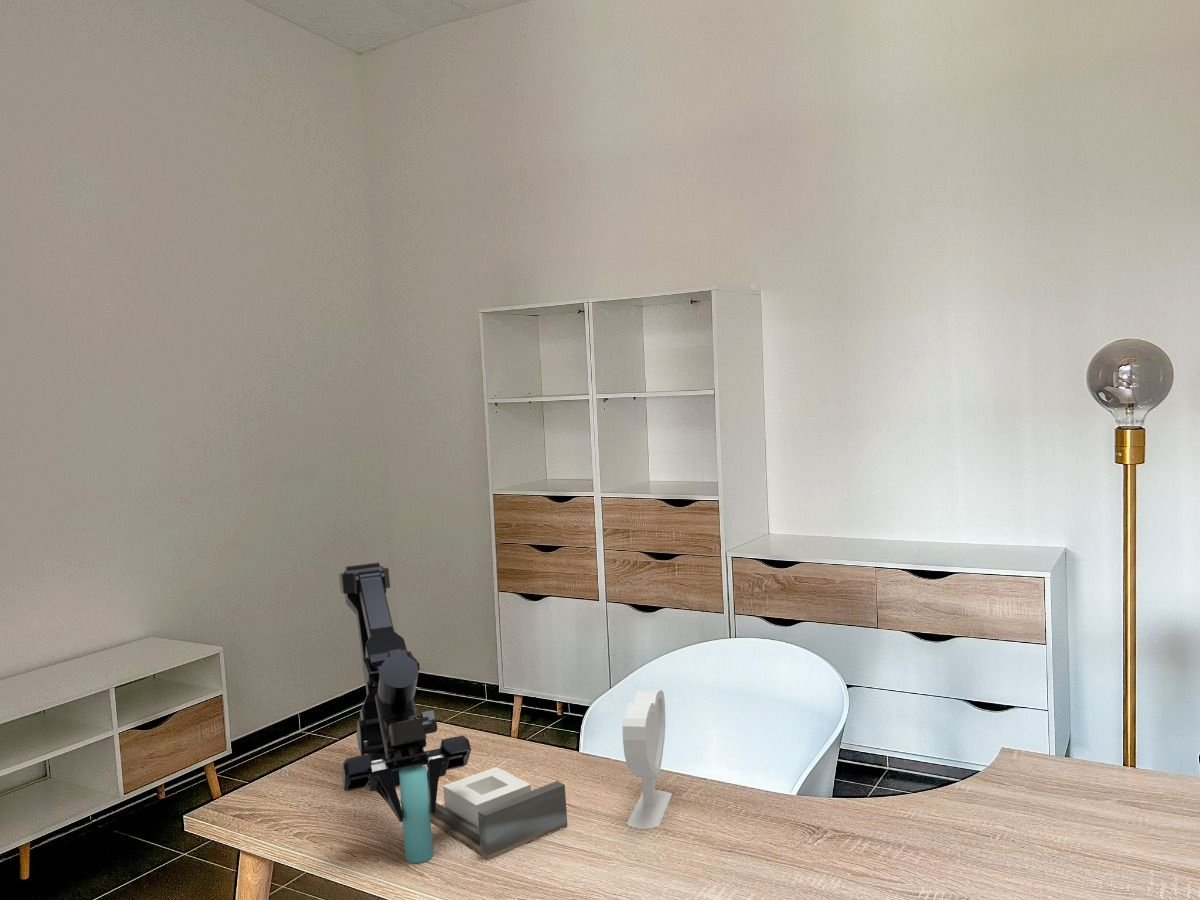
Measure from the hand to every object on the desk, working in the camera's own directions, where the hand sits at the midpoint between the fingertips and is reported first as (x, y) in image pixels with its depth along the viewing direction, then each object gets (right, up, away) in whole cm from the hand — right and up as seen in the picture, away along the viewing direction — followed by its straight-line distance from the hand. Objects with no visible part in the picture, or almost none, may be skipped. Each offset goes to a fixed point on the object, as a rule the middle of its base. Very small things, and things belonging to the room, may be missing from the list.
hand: (417, 817), depth 140 cm
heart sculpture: (+34, -4, +13) cm, 37 cm away
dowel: (0, -6, +2) cm, 7 cm away
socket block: (+9, -4, +13) cm, 16 cm away
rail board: (+10, -5, +12) cm, 16 cm away
